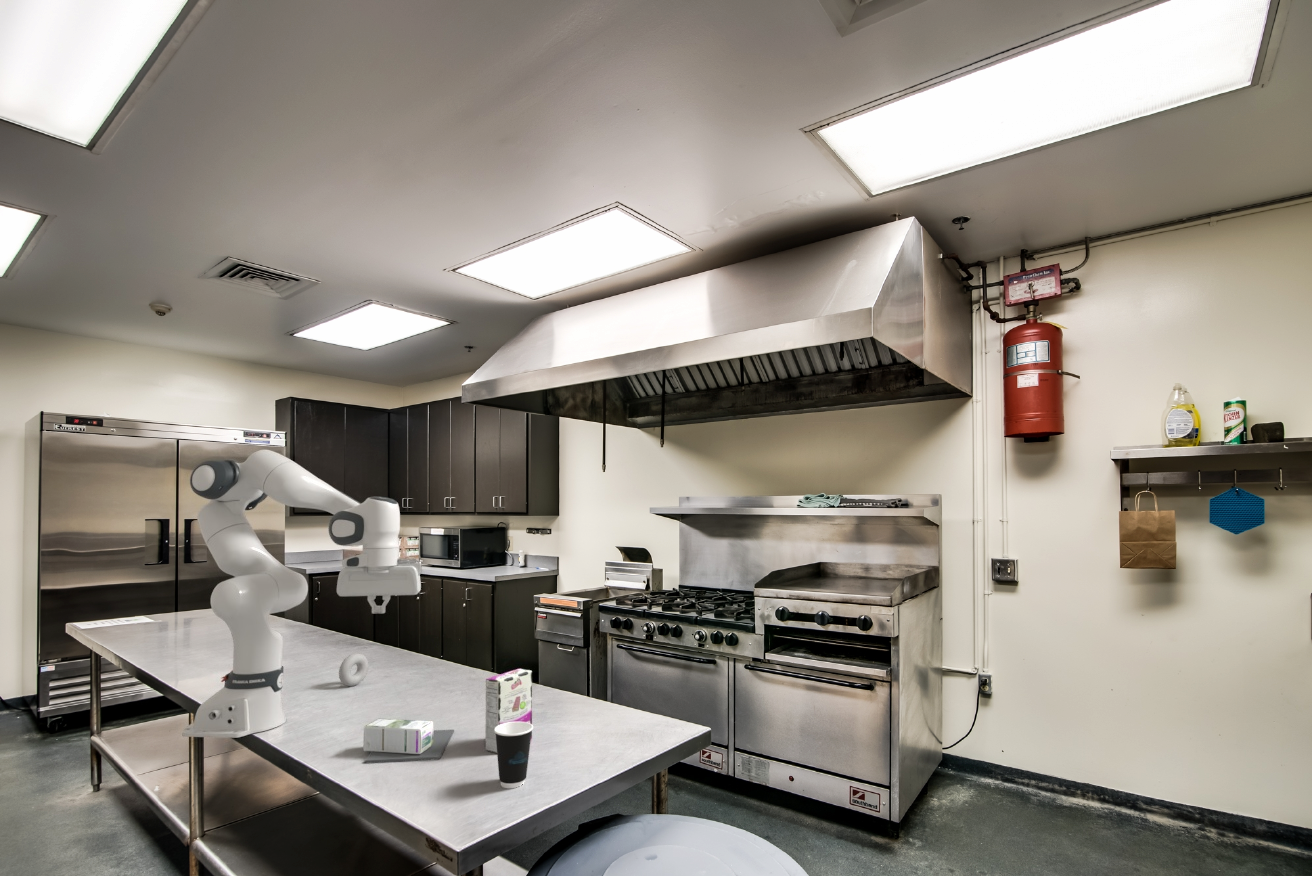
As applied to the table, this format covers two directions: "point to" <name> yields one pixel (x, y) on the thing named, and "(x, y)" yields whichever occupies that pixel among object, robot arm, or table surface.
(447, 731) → the mat
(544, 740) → the table surface
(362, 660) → the donut
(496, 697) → the candy bar box
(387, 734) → the syrup box
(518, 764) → the dixie cup
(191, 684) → the table surface
